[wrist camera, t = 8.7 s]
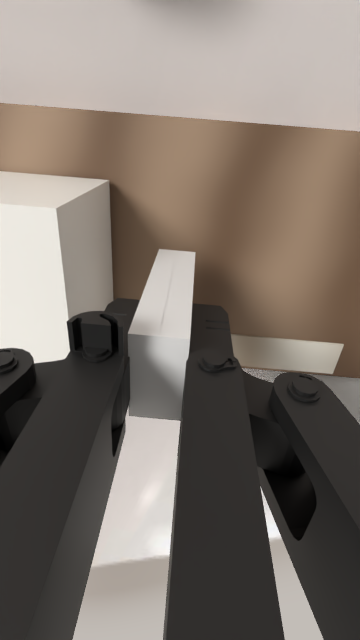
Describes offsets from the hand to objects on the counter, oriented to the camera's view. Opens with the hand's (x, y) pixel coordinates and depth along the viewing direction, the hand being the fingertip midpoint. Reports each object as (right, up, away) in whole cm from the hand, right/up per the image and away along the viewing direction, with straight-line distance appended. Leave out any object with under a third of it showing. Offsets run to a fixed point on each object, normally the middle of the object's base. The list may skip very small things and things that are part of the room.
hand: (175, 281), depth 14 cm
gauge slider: (-8, +1, +3) cm, 8 cm away
